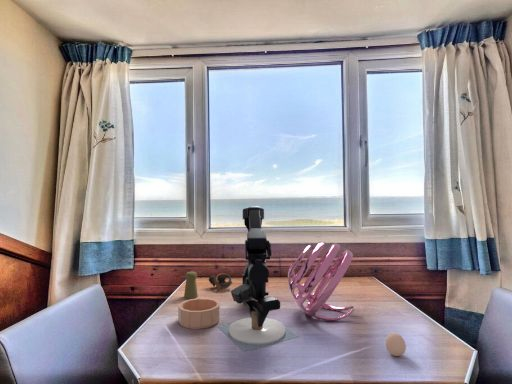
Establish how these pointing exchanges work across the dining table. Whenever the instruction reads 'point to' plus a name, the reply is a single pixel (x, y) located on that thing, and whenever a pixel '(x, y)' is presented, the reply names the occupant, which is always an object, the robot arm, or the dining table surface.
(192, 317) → the terracotta bowl
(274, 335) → the ceramic lid
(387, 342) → the egg
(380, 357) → the dining table surface
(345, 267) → the spiral basket
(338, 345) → the dining table surface
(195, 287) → the green tapered peg
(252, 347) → the rubber mat
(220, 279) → the pottery mug
